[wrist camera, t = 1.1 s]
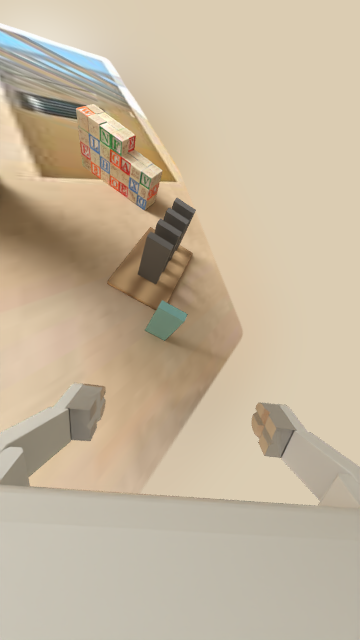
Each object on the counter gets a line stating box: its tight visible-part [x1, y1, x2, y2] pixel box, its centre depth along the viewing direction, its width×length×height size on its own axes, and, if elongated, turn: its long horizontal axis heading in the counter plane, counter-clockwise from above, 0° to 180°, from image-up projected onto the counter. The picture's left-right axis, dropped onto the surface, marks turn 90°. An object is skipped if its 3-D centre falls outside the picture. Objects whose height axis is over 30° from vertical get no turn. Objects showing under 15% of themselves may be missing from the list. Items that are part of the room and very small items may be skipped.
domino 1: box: [172, 198, 196, 251], centre depth 46 cm, size 5×2×12 cm, turn 67°
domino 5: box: [145, 300, 187, 341], centre depth 36 cm, size 5×2×12 cm, turn 67°
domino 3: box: [154, 219, 182, 272], centre depth 41 cm, size 5×2×12 cm, turn 67°
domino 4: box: [138, 232, 174, 284], centre depth 39 cm, size 5×2×12 cm, turn 67°
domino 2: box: [163, 208, 189, 261], centre depth 43 cm, size 5×2×12 cm, turn 67°
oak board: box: [107, 227, 193, 310], centre depth 47 cm, size 14×22×1 cm, turn 157°
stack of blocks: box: [76, 104, 162, 210], centre depth 49 cm, size 21×6×12 cm, turn 62°
